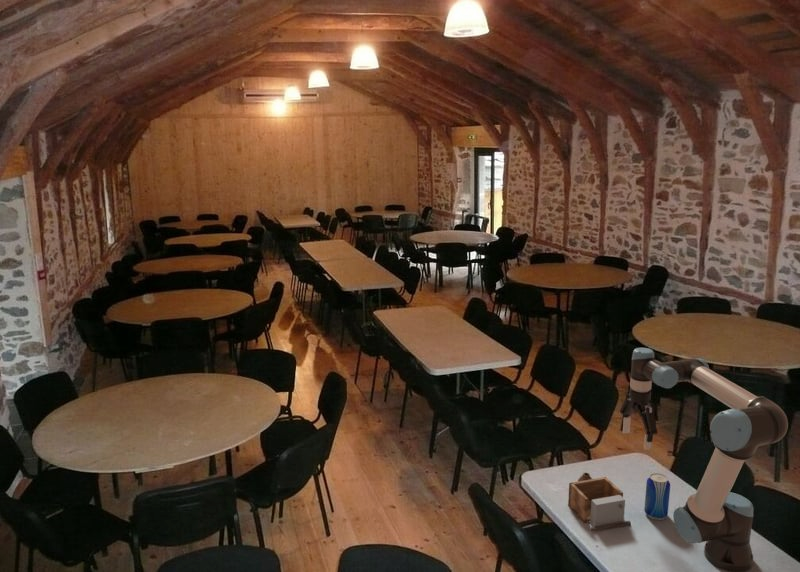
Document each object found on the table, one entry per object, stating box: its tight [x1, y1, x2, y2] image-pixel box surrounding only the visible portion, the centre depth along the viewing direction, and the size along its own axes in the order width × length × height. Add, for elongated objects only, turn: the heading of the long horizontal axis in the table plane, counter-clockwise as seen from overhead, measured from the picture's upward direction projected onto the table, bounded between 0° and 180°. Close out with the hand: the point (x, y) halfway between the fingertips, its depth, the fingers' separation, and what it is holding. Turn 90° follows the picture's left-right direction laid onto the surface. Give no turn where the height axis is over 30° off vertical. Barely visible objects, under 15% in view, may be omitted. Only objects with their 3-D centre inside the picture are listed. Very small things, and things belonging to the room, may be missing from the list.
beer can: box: [643, 472, 671, 521], centre depth 250 cm, size 8×8×16 cm
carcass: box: [567, 476, 632, 533], centre depth 251 cm, size 18×16×10 cm
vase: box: [576, 472, 593, 482], centre depth 266 cm, size 7×7×9 cm
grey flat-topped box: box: [589, 495, 626, 527], centre depth 245 cm, size 5×12×10 cm, turn 105°
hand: (636, 440), depth 250 cm, fingers open, 13 cm apart
